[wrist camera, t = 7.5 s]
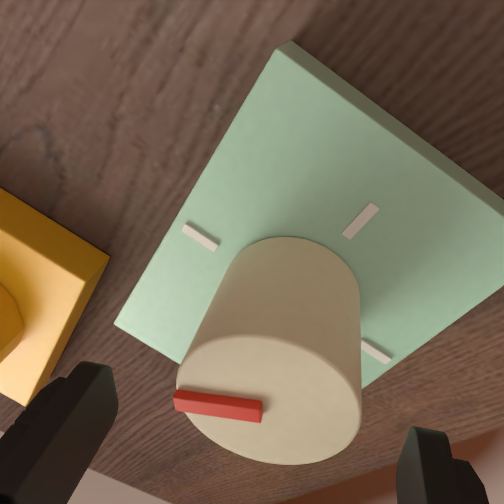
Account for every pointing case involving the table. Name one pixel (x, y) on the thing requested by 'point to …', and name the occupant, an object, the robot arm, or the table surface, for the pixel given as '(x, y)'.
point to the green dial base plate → (328, 215)
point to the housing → (39, 294)
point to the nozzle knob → (278, 356)
